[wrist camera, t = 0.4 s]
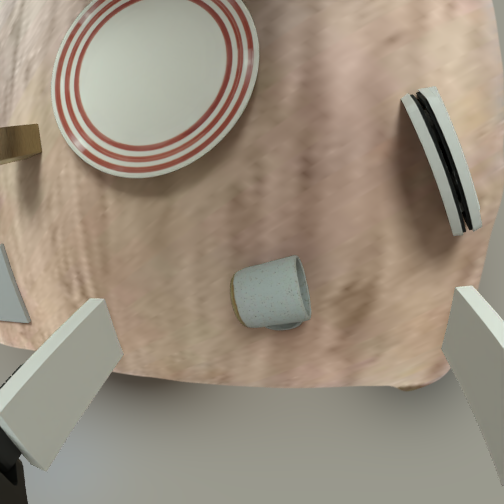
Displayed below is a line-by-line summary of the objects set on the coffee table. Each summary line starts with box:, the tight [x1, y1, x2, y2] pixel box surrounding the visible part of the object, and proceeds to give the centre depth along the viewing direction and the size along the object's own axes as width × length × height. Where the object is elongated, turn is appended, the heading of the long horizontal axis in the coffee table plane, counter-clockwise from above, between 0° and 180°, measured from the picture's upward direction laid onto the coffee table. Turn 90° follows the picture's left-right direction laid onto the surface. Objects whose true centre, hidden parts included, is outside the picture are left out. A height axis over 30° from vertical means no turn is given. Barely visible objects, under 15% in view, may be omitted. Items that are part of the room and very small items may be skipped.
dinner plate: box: [51, 0, 259, 178], centre depth 32 cm, size 27×27×3 cm
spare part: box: [0, 124, 42, 165], centre depth 33 cm, size 4×4×10 cm
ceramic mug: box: [230, 255, 311, 330], centre depth 38 cm, size 11×8×8 cm
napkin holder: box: [401, 86, 482, 236], centre depth 29 cm, size 17×5×10 cm, turn 29°
